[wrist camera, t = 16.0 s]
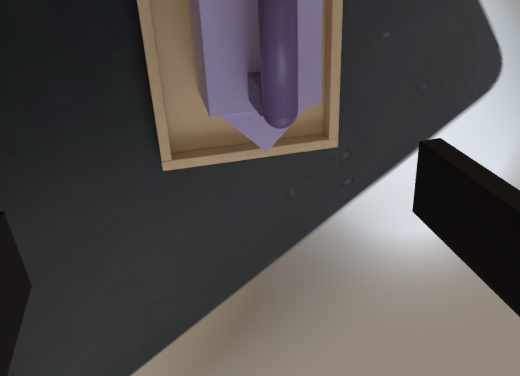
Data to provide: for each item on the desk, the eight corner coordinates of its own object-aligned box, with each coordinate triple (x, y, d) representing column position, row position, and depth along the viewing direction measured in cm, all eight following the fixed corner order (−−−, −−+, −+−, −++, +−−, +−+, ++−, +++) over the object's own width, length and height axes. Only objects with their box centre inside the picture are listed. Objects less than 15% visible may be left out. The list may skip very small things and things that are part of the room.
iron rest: (114, -149, 25) (113, -154, 24) (336, -153, 28) (348, -158, 26) (161, 161, 34) (163, 171, 32) (329, 138, 36) (338, 147, 35)
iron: (176, -107, 26) (196, -126, 18) (291, -110, 28) (358, -131, 19) (203, 139, 33) (226, 205, 25) (293, 127, 34) (344, 187, 26)
